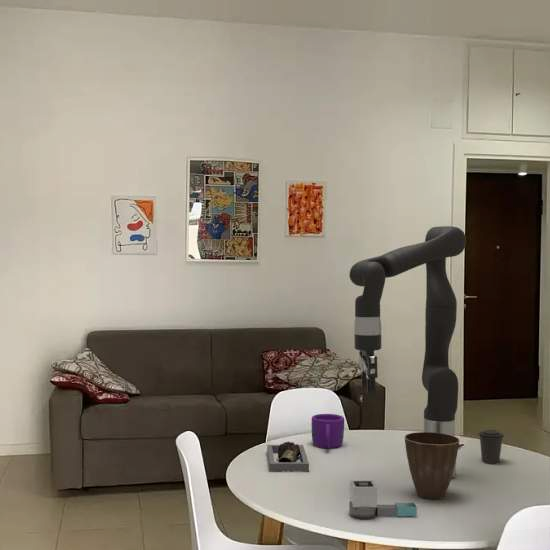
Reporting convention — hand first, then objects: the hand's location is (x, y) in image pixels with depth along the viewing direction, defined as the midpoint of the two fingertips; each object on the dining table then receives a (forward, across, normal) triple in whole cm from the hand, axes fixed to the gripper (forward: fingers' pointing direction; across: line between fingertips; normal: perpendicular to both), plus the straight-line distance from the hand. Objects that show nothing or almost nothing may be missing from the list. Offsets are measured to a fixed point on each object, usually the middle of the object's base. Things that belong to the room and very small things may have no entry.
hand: (368, 389), depth 216 cm
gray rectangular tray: (+28, +30, +21) cm, 46 cm away
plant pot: (+29, -5, -16) cm, 34 cm away
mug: (+29, +48, +6) cm, 56 cm away
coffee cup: (+30, +28, -45) cm, 61 cm away
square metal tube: (+25, -20, +6) cm, 33 cm away
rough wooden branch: (+28, +29, +21) cm, 46 cm away
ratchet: (+28, -21, +1) cm, 35 cm away
